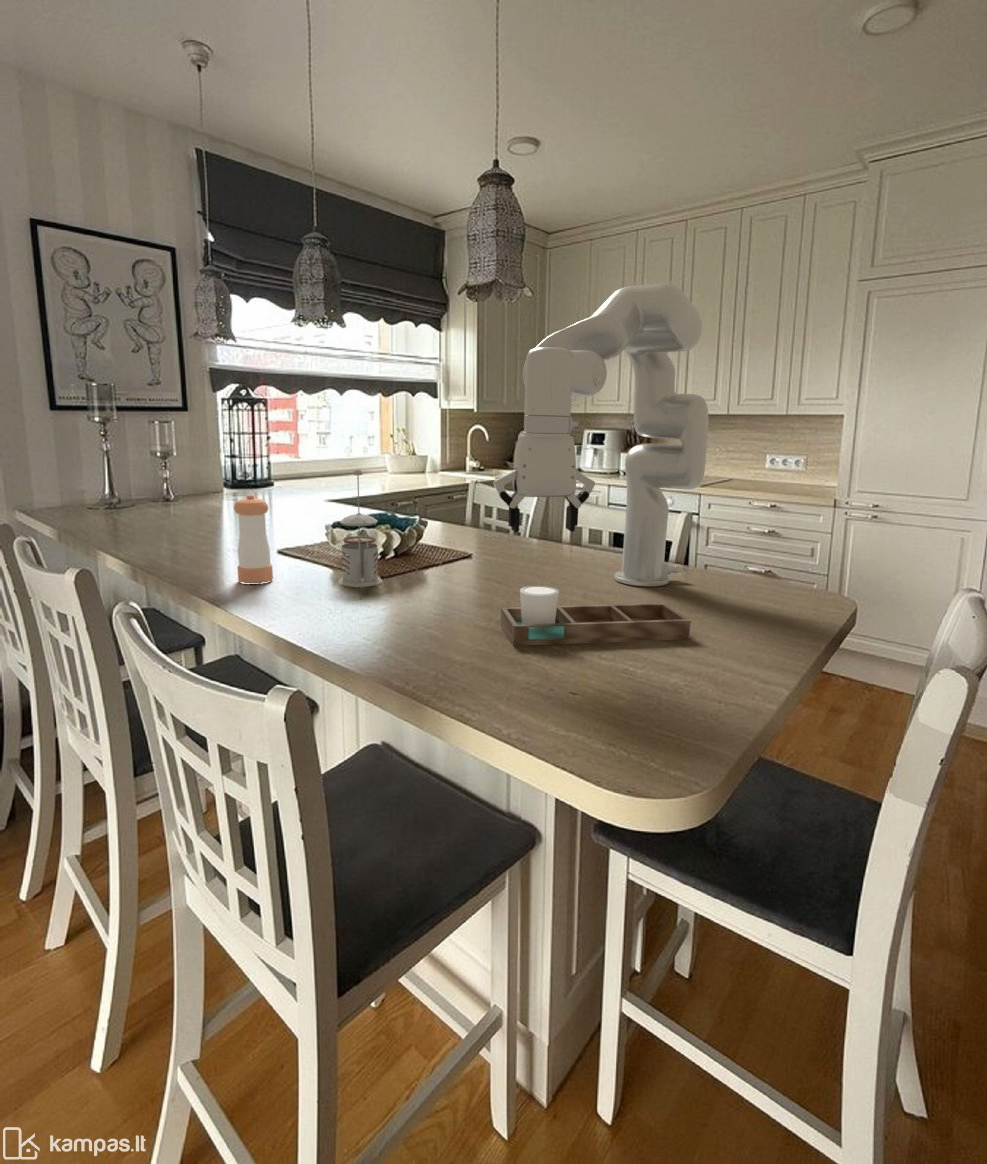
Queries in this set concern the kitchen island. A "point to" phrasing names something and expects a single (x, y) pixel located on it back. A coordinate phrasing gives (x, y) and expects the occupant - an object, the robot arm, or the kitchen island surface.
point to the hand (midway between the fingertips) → (542, 530)
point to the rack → (598, 625)
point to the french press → (359, 552)
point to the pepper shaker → (253, 541)
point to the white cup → (538, 604)
